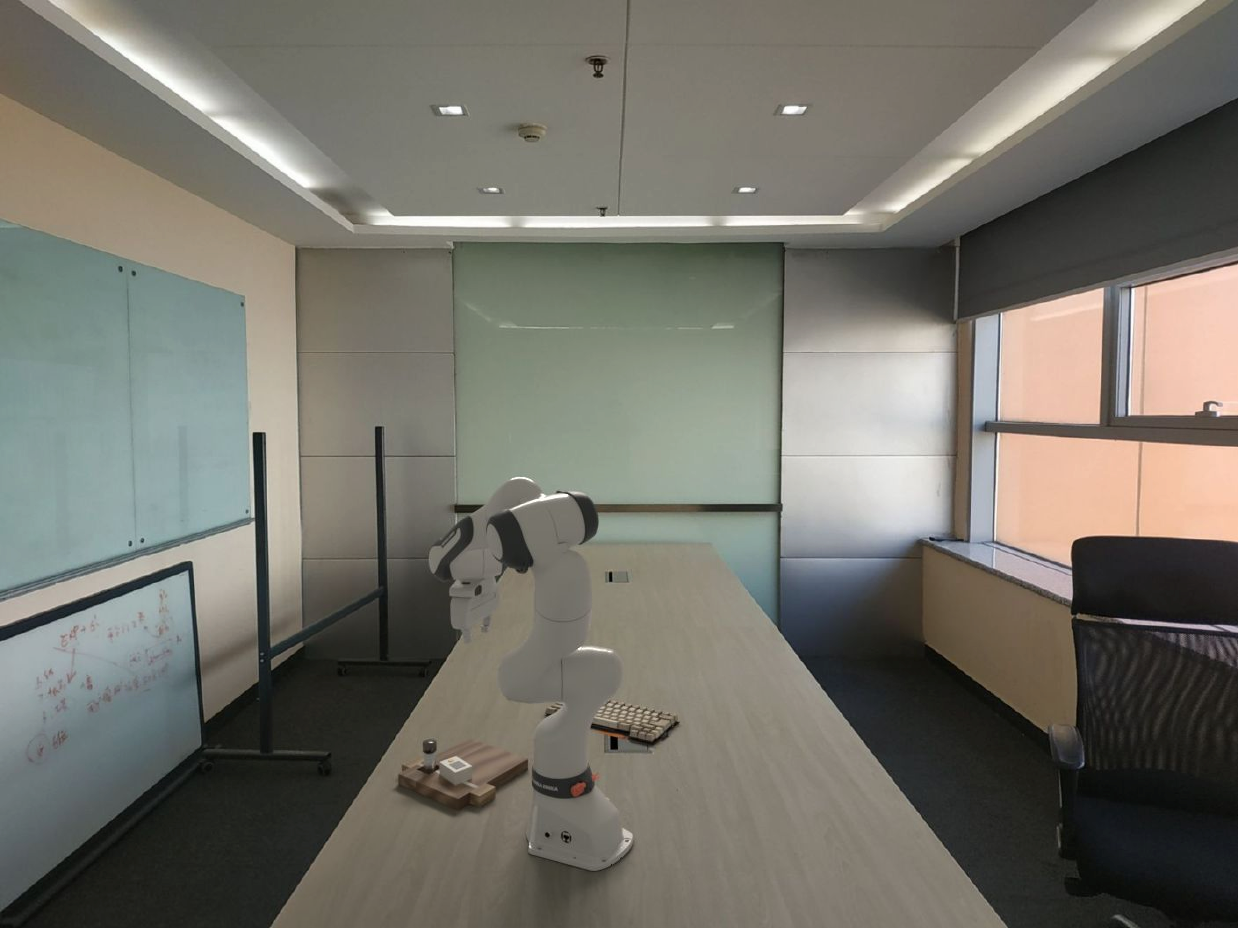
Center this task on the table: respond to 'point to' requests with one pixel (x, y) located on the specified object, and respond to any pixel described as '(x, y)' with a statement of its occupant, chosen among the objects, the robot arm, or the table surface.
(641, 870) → the table surface
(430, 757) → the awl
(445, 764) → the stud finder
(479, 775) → the board
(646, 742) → the mechanical keyboard
